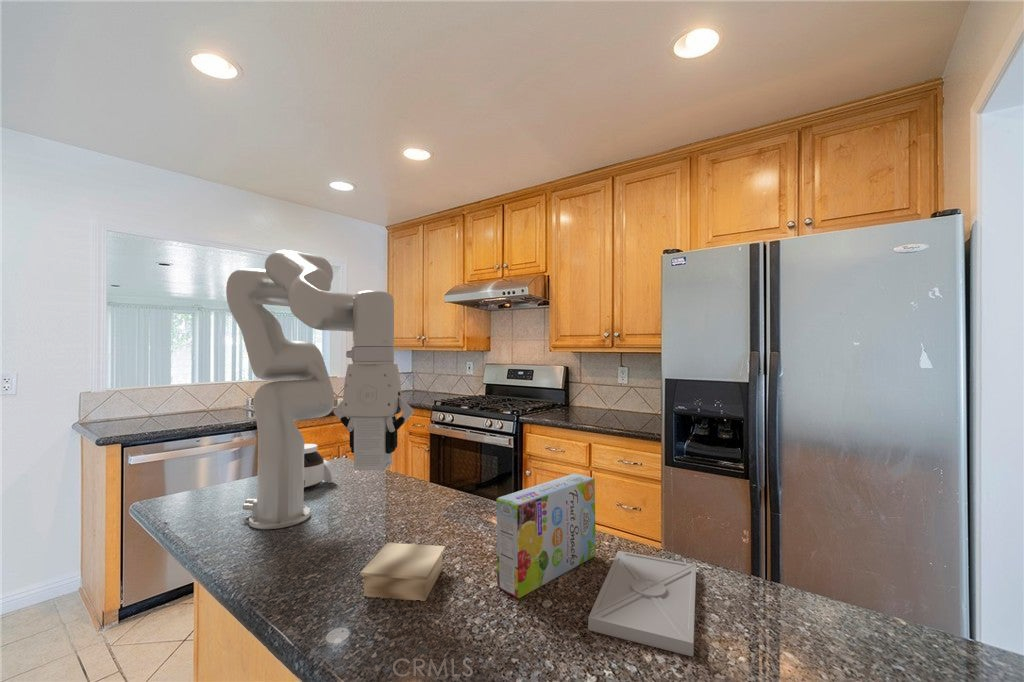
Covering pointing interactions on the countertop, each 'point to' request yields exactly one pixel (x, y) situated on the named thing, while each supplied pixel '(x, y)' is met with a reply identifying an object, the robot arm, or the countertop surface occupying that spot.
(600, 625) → the envelope
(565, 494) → the snack box
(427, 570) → the pedestal
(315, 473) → the spread jar
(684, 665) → the countertop surface
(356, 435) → the skincare box
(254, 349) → the robot arm
